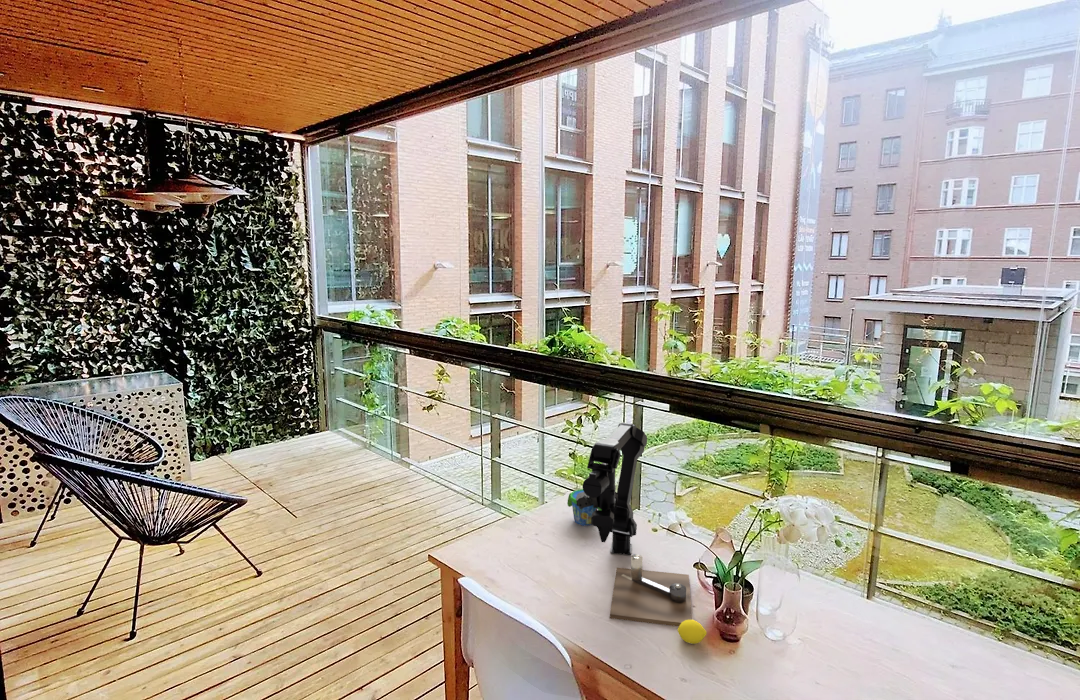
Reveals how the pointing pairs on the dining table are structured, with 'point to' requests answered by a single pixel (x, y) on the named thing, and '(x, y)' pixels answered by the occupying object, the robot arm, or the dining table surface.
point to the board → (649, 599)
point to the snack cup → (580, 510)
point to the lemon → (691, 631)
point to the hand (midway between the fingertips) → (604, 534)
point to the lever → (675, 592)
